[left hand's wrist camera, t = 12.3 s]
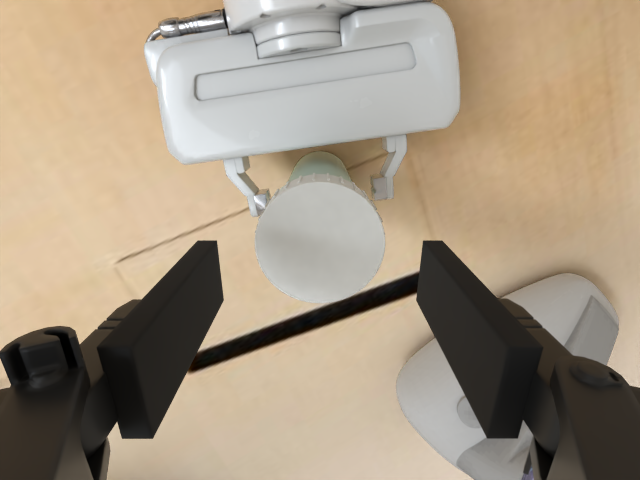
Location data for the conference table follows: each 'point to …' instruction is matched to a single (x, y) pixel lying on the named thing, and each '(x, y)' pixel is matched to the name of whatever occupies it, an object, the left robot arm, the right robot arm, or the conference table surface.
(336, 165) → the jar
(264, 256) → the lid
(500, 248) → the conference table surface
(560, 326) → the projector
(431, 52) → the right robot arm
